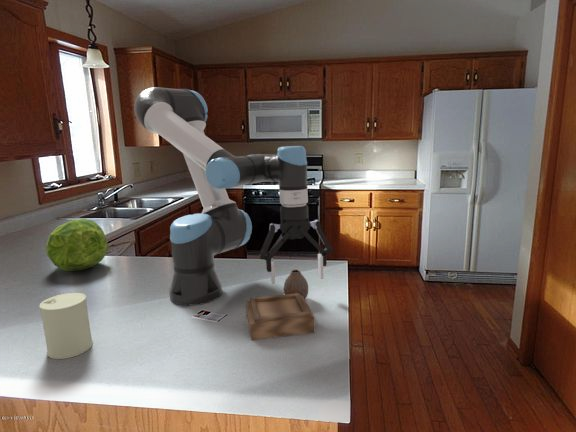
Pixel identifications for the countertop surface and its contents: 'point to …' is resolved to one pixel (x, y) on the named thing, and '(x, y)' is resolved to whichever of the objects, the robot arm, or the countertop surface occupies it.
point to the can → (66, 325)
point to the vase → (296, 284)
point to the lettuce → (77, 245)
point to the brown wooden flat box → (279, 316)
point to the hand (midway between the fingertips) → (297, 279)
